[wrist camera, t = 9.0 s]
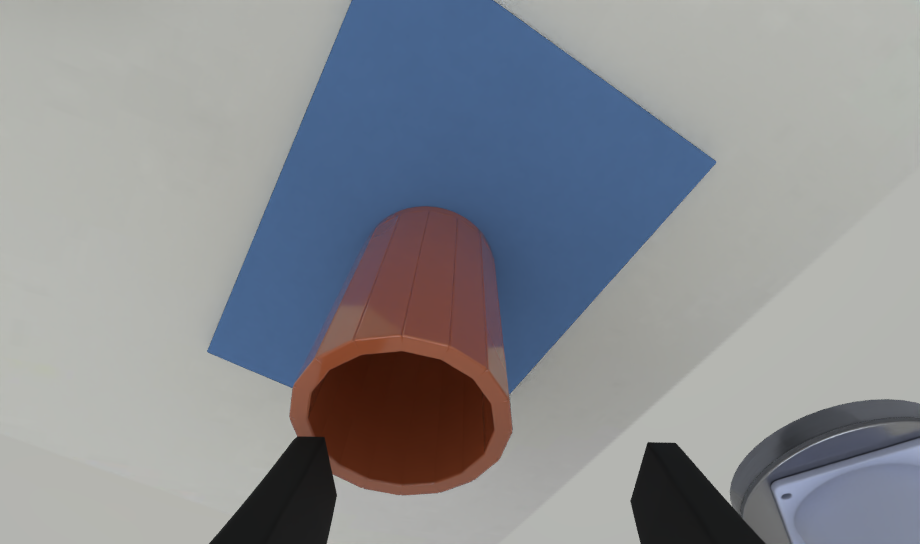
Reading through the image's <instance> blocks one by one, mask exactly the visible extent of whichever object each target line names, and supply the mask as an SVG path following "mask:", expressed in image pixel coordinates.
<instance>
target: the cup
mask: <svg viewBox="0 0 920 544" xmlns="http://www.w3.org/2000/svg"><path fill="white" fill-rule="evenodd" d="M289 417H290V421H291V423H292V425H293V428H294V430H295V432H296V434H297V437H298V436H306V437H325V441H326V446H327V451H328V455H329V460H330V465H331V470H332V474H333V475H335V476H337V477H339V478H342V479H344V480H346V481H348V482H350V483H352V484H354V485H356V486H358V487H361V488H364V489H368V490H373V491H379V492H384V493H390V494H395V495H417V494H432V493H439V492H444V491H446V490H449V489H452V488H455V487H458V486H461V485H463V484H466V483H469V482H472V481H473V480H475V479H476V478H478V477H479V476H480V475H481V474H483V473H484V472H485V471H486V470H487V469H489V468H490V467H491V466H492V465H494V464H495V463H496V462H497V461H498V460H499V459H500V457H501V455H502V453H503V451H504V449H505V447H506V445H507V442H508V440H509V438H510V436H511V434H512V430H513V427H512V417H511V408H510V398H509V389H508V380H507V371H506V362H505V353H504V344H503V335H502V326H501V317H500V308H499V299H498V290H497V281H496V272H495V263H494V258H493V253H492V250H491V247H490V245H489V243H488V241H487V239H486V238H485V236H484V235H483V234H482V232H481V231H480V230H479V229H478V228H477V227H476V226H475V225H474V224H473V223H472V222H470V221H469V220H468V219H466V218H464V217H463V216H461V215H459V214H457V213H455V212H453V211H450V210H447V209H443V208H438V207H429V206H422V207H412V208H407V209H404V210H401V211H398V212H396V213H394V214H392V215H390V216H388V217H387V218H385V219H384V220H383V221H381V222H380V223H379V224H378V225H377V226H376V227H375V228H374V229H373V231H372V232H371V233H370V235H369V237H368V238H367V240H366V242H365V243H364V245H363V246H362V248H361V250H360V252H359V254H358V256H357V258H356V260H355V262H354V264H353V266H352V268H351V270H350V272H349V274H348V276H347V278H346V280H345V282H344V284H343V286H342V288H341V290H340V292H339V294H338V296H337V298H336V300H335V302H334V304H333V306H332V308H331V310H330V312H329V314H328V316H327V318H326V320H325V322H324V324H323V326H322V328H321V330H320V332H319V334H318V336H317V339H316V341H315V343H314V345H313V347H312V349H311V351H310V353H309V355H308V357H307V359H306V361H305V363H304V365H303V367H302V369H301V371H300V373H299V375H298V377H297V379H296V381H295V383H294V385H293V389H292V397H291V406H290V415H289Z"/></svg>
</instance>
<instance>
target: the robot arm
mask: <svg viewBox="0 0 920 544" xmlns="http://www.w3.org/2000/svg"><path fill="white" fill-rule="evenodd" d="M771 490H772V492H773V495H774V498H775V500H776V503H777V506H778V508H779V511H780V514H781V516H782V519H783V522H784V524H785V527H786V530H787V533H788V535H789V538H790V541H791V543H792V544H920V438H917V439H914V440H910V441H907V442H903V443H900V444H897V445H893V446H890V447H887V448H883V449H880V450H877V451H873V452H870V453H866V454H863V455H860V456H856V457H853V458H850V459H846V460H843V461H839V462H836V463H833V464H829V465H826V466H823V467H819V468H816V469H812V470H809V471H806V472H802V473H799V474H796V475H792V476H789V477H786V478H782V479H779V480H776V481H774V482H773V483H772V485H771ZM336 497H337V494H336V489H335V484H334V479H333V475H332V470H331V465H330V460H329V455H328V451H327V446H326V441H325V437H306V436H298V437H297V438H295V439H294V440H293V441H292V443H291V444H290V445H289V447H288V448H287V449H286V451H285V452H284V453H283V454H282V456H281V457H280V458H279V460H278V461H277V462H276V463H275V465H274V466H273V467H272V469H271V470H270V471H269V472H268V474H267V475H266V476H265V477H264V479H263V480H262V481H261V482H260V484H259V485H258V486H257V487H256V489H255V490H254V491H253V492H252V494H251V495H250V496H249V497H248V499H247V500H246V501H245V502H244V503H243V504H242V506H241V507H240V508H239V509H238V510H237V512H236V513H235V514H234V515H233V516H232V518H231V519H230V520H229V521H228V522H227V524H226V525H225V526H224V527H223V528H222V529H221V531H220V532H219V533H218V534H217V535H216V536H215V538H214V539H213V540H212V541H211V542H210V543H209V544H327V540H328V535H329V531H330V526H331V522H332V517H333V512H334V507H335V502H336ZM631 505H632V509H633V514H634V518H635V522H636V526H637V531H638V534H639V538H640V542H641V544H766V543H765V542H764V541H763V540H762V539H761V538H760V537H759V536H758V535H757V534H756V532H755V531H754V530H753V529H752V528H751V527H750V526H749V525H748V524H747V523H746V522H745V521H744V520H743V518H742V517H741V516H740V515H739V514H738V513H737V512H736V511H735V510H734V508H733V507H732V506H731V505H730V504H729V503H728V502H727V501H726V500H725V499H724V497H723V496H722V495H721V494H720V493H719V492H718V490H716V488H715V487H714V486H713V485H712V484H711V483H710V481H709V480H707V478H706V477H705V476H704V475H703V473H702V472H701V471H700V470H699V469H698V468H697V467H696V466H695V464H694V463H693V462H692V461H691V460H690V459H689V457H688V456H687V455H686V454H685V453H684V452H683V451H682V449H681V448H680V447H679V446H678V445H677V444H676V443H651V442H648V443H647V447H646V450H645V454H644V457H643V460H642V464H641V467H640V471H639V474H638V478H637V481H636V484H635V488H634V491H633V495H632V498H631Z"/></svg>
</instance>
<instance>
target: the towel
mask: <svg viewBox="0 0 920 544" xmlns="http://www.w3.org/2000/svg"><path fill="white" fill-rule="evenodd" d="M715 164H716V161H715V160H714V159H712V158H711V157H709V156H708V155H707V154H705V153H704V152H702V151H701V150H700V149H698V148H697V147H696V146H694V145H693V144H691V143H690V142H689V141H687V140H686V139H684V138H683V137H682V136H680V135H679V134H678V133H676V132H675V131H673V130H672V129H671V128H669V127H668V126H666V125H665V124H664V123H662V122H661V121H660V120H658V119H657V118H655V117H654V116H653V115H651V114H650V113H648V112H647V111H646V110H644V109H643V108H642V107H640V106H639V105H637V104H636V103H635V102H633V101H632V100H630V99H629V98H628V97H626V96H625V95H624V94H622V93H621V92H619V91H618V90H617V89H615V88H614V87H612V86H611V85H610V84H608V83H607V82H606V81H604V80H603V79H601V78H600V77H599V76H597V75H596V74H594V73H593V72H592V71H590V70H589V69H588V68H586V67H585V66H583V65H582V64H581V63H579V62H578V61H576V60H575V59H574V58H572V57H571V56H570V55H568V54H567V53H565V52H564V51H563V50H561V49H560V48H558V47H557V46H556V45H554V44H553V43H552V42H550V41H549V40H547V39H546V38H545V37H543V36H542V35H540V34H539V33H538V32H536V31H535V30H534V29H532V28H531V27H529V26H528V25H527V24H525V23H524V22H523V21H521V20H520V19H518V18H517V17H516V16H514V15H513V14H511V13H510V12H509V11H507V10H506V9H505V8H503V7H502V6H500V5H499V4H498V3H496V2H495V1H493V0H352V1H351V4H350V6H349V8H348V11H347V13H346V16H345V18H344V21H343V23H342V25H341V28H340V30H339V33H338V35H337V38H336V40H335V42H334V45H333V47H332V50H331V52H330V55H329V57H328V59H327V62H326V64H325V67H324V69H323V72H322V74H321V76H320V79H319V81H318V84H317V86H316V89H315V91H314V93H313V96H312V98H311V101H310V103H309V106H308V108H307V110H306V113H305V115H304V118H303V120H302V122H301V125H300V127H299V130H298V132H297V135H296V137H295V139H294V142H293V144H292V147H291V149H290V152H289V154H288V156H287V159H286V161H285V164H284V166H283V169H282V171H281V173H280V176H279V178H278V181H277V183H276V186H275V188H274V190H273V193H272V195H271V198H270V200H269V203H268V205H267V207H266V210H265V212H264V215H263V217H262V219H261V222H260V224H259V227H258V229H257V232H256V234H255V236H254V239H253V241H252V244H251V246H250V249H249V251H248V253H247V256H246V258H245V261H244V263H243V266H242V268H241V270H240V273H239V275H238V278H237V280H236V283H235V285H234V287H233V290H232V292H231V295H230V297H229V300H228V302H227V304H226V307H225V309H224V312H223V314H222V317H221V319H220V321H219V324H218V326H217V329H216V331H215V333H214V336H213V338H212V341H211V343H210V346H209V348H208V350H207V352H208V353H211V354H213V355H215V356H218V357H220V358H223V359H225V360H227V361H230V362H232V363H234V364H237V365H239V366H241V367H244V368H246V369H249V370H251V371H253V372H256V373H258V374H260V375H263V376H265V377H267V378H270V379H272V380H275V381H277V382H279V383H282V384H284V385H286V386H289V387H291V388H293V385H294V383H295V381H296V379H297V377H298V375H299V373H300V371H301V369H302V367H303V365H304V363H305V361H306V359H307V357H308V355H309V353H310V351H311V349H312V347H313V345H314V343H315V341H316V339H317V336H318V334H319V332H320V330H321V328H322V326H323V324H324V322H325V320H326V318H327V316H328V314H329V312H330V310H331V308H332V306H333V304H334V302H335V300H336V298H337V296H338V294H339V292H340V290H341V288H342V286H343V284H344V282H345V280H346V278H347V276H348V274H349V272H350V270H351V268H352V266H353V264H354V262H355V260H356V258H357V256H358V254H359V252H360V250H361V248H362V246H363V245H364V243H365V242H366V240H367V238H368V237H369V235H370V233H371V232H372V231H373V229H374V228H375V227H376V226H377V225H378V224H379V223H380V222H381V221H383V220H384V219H385V218H387V217H388V216H390V215H392V214H394V213H396V212H398V211H401V210H404V209H407V208H412V207H422V206H429V207H438V208H443V209H447V210H450V211H453V212H455V213H457V214H459V215H461V216H463V217H464V218H466V219H468V220H469V221H470V222H472V223H473V224H474V225H475V226H476V227H477V228H478V229H479V230H480V231H481V232H482V234H483V235H484V236H485V238H486V239H487V241H488V243H489V245H490V247H491V250H492V253H493V258H494V263H495V272H496V281H497V290H498V299H499V308H500V317H501V326H502V335H503V344H504V353H505V362H506V371H507V380H508V389H509V394H510V393H511V392H512V391H513V390H514V389H515V387H516V386H517V385H518V384H519V383H520V382H521V381H522V380H523V379H524V377H525V376H526V375H527V374H528V373H529V372H530V371H531V370H532V368H533V367H534V366H535V365H536V364H537V363H538V362H539V361H540V359H541V358H542V357H543V356H544V355H545V354H546V353H547V352H548V351H549V349H550V348H551V347H552V346H553V345H554V344H555V343H556V342H557V340H558V339H559V338H560V337H561V336H562V335H563V334H564V333H565V331H566V330H567V329H568V328H569V327H570V326H571V325H572V324H573V323H574V321H575V320H576V319H577V318H578V317H579V316H580V315H581V314H582V312H583V311H584V310H585V309H586V308H587V307H588V306H589V305H590V304H591V302H592V301H593V300H594V299H595V298H596V297H597V296H598V295H599V293H600V292H601V291H602V290H603V289H604V288H605V287H606V286H607V284H608V283H609V282H610V281H611V280H612V279H613V278H614V277H615V276H616V274H617V273H618V272H619V271H620V270H621V269H622V268H623V267H624V265H625V264H626V263H627V262H628V261H629V260H630V259H631V258H632V256H633V255H634V254H635V253H636V252H637V251H638V250H639V249H640V248H641V246H642V245H643V244H644V243H645V242H646V241H647V240H648V239H649V237H650V236H651V235H652V234H653V233H654V232H655V231H656V230H657V229H658V227H659V226H660V225H661V224H662V223H663V222H664V221H665V220H666V218H667V217H668V216H669V215H670V214H671V213H672V212H673V211H674V209H675V208H676V207H677V206H678V205H679V204H680V203H681V202H682V201H683V199H684V198H685V197H686V196H687V195H688V194H689V193H690V192H691V190H692V189H693V188H694V187H695V186H696V185H697V184H698V183H699V181H700V180H701V179H702V178H703V177H704V176H705V175H706V174H707V173H708V171H709V170H710V169H711V168H712V167H713V166H714V165H715Z"/></svg>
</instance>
